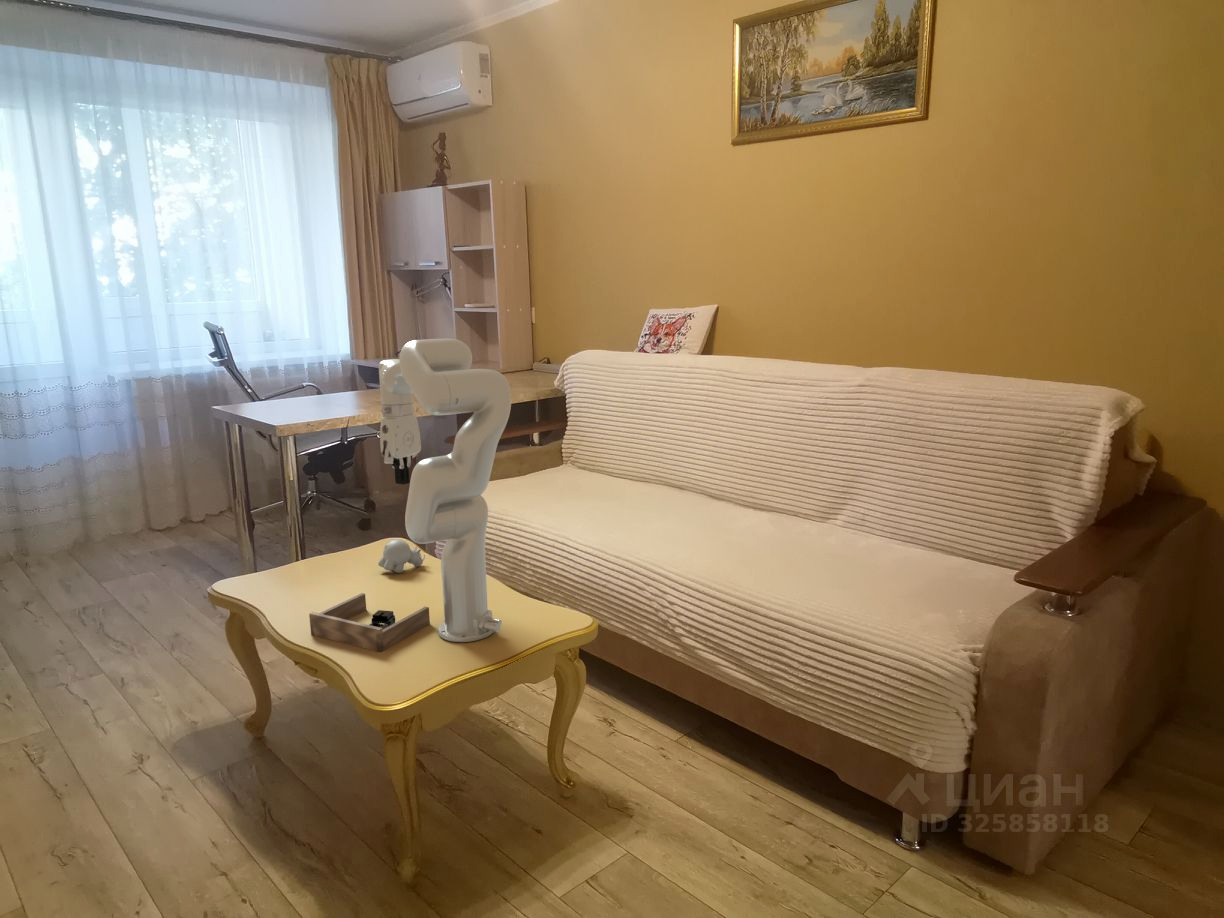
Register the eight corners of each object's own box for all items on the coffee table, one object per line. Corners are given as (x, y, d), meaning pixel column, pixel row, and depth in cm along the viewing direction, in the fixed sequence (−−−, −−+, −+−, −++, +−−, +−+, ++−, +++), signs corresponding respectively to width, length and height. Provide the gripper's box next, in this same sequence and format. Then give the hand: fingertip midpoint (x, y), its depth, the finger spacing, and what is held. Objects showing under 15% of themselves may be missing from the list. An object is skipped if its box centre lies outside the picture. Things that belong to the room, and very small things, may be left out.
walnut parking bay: (429, 623, 183) (428, 603, 182) (380, 652, 169) (378, 629, 168) (363, 608, 191) (361, 589, 190) (311, 634, 177) (309, 613, 176)
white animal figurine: (424, 579, 218) (434, 549, 218) (383, 572, 211) (393, 541, 211) (414, 571, 224) (424, 542, 224) (374, 564, 216) (384, 534, 216)
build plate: (350, 637, 178) (349, 617, 177) (367, 623, 185) (365, 604, 184) (402, 641, 175) (401, 621, 174) (417, 627, 182) (416, 608, 181)
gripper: (388, 415, 188) (393, 491, 192) (429, 407, 201) (433, 478, 205) (364, 413, 191) (369, 488, 195) (406, 405, 204) (410, 475, 208)
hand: (402, 483), depth 200 cm, fingers closed
